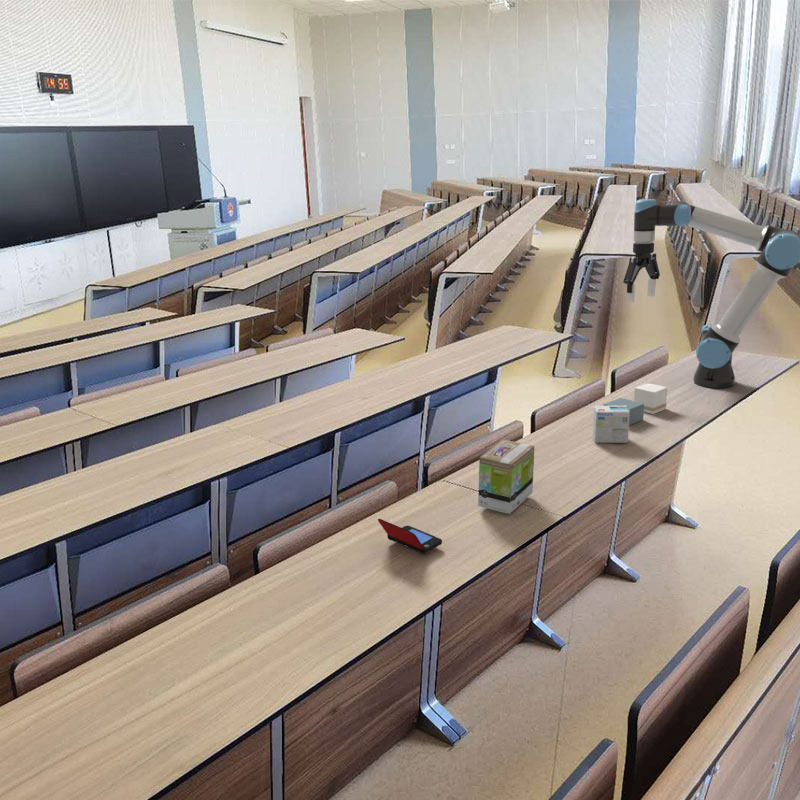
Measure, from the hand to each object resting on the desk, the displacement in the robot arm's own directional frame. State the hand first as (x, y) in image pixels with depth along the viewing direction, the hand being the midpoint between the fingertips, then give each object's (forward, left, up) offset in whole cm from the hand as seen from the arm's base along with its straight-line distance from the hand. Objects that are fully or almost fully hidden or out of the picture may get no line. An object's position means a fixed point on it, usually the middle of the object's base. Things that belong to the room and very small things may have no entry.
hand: (640, 298), depth 296 cm
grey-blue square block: (+22, +35, -35) cm, 54 cm away
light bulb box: (+34, +51, -35) cm, 71 cm away
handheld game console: (+110, +104, -35) cm, 155 cm away
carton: (+8, +27, -35) cm, 45 cm away
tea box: (+80, +86, -35) cm, 123 cm away
